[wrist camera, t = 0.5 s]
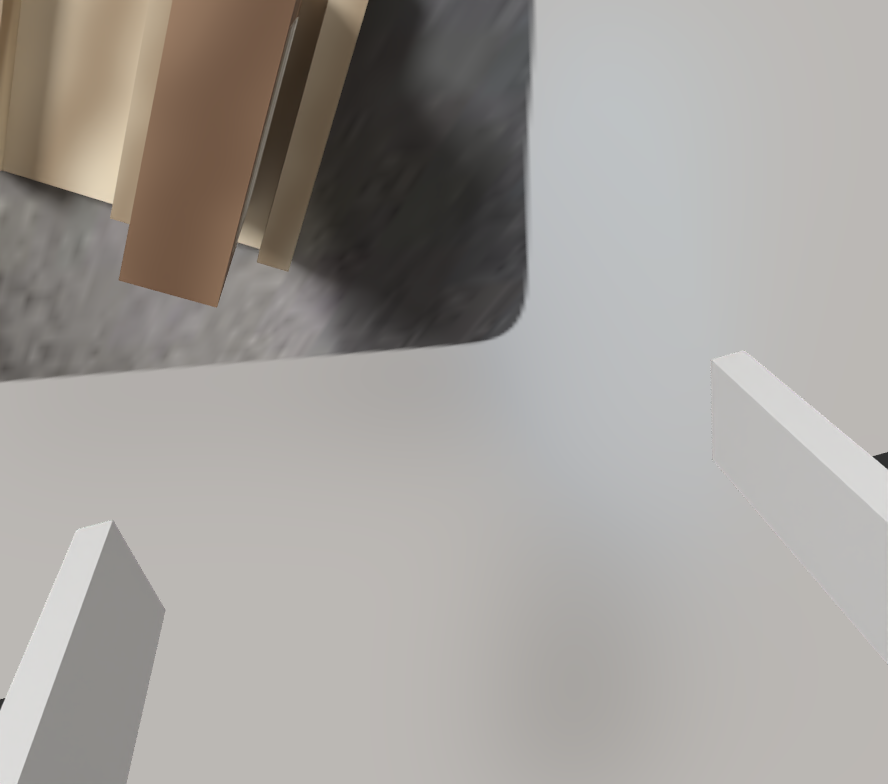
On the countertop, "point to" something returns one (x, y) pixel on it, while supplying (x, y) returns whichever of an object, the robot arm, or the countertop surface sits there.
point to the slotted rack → (131, 97)
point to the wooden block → (205, 142)
